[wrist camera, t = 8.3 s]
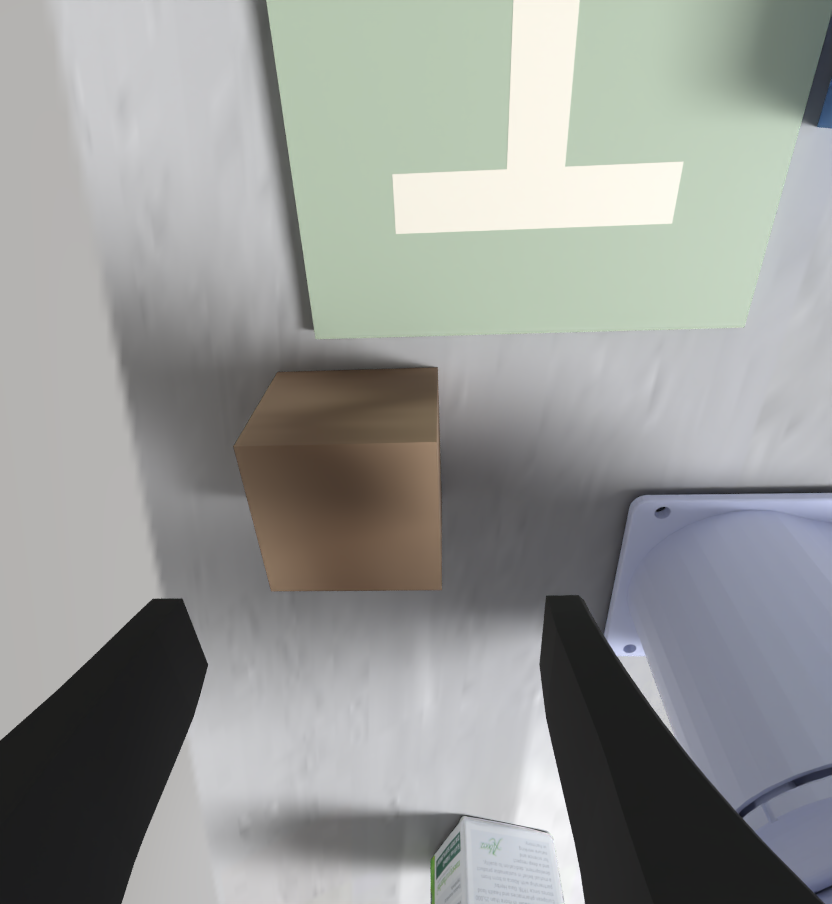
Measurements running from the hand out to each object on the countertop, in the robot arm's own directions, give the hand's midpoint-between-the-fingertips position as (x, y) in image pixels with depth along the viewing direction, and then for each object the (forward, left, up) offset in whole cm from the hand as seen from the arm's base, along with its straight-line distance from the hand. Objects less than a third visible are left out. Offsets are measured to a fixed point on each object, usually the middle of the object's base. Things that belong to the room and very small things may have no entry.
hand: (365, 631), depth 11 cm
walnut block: (+1, 0, -8) cm, 9 cm away
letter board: (-4, -9, -8) cm, 13 cm away
